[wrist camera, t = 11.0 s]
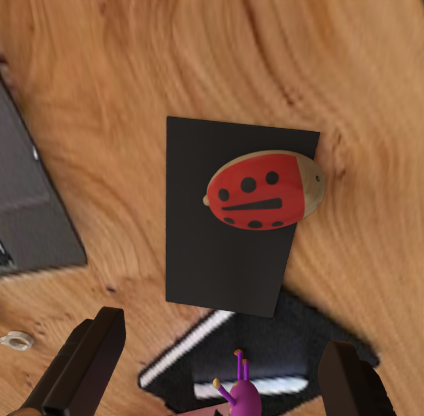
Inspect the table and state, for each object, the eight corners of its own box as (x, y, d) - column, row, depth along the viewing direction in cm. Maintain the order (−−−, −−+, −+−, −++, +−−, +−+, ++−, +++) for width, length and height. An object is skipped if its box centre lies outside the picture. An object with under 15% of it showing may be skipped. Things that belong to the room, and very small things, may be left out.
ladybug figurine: (326, 211, 23) (338, 233, 20) (216, 230, 26) (211, 252, 22) (318, 135, 21) (331, 146, 18) (196, 162, 23) (187, 176, 20)
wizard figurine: (210, 327, 32) (191, 455, 21) (234, 319, 31) (226, 449, 20) (255, 383, 36) (258, 516, 25) (278, 378, 35) (291, 514, 24)
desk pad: (167, 116, 22) (166, 116, 22) (319, 132, 21) (320, 132, 21) (166, 299, 31) (165, 301, 31) (272, 316, 30) (272, 318, 30)
